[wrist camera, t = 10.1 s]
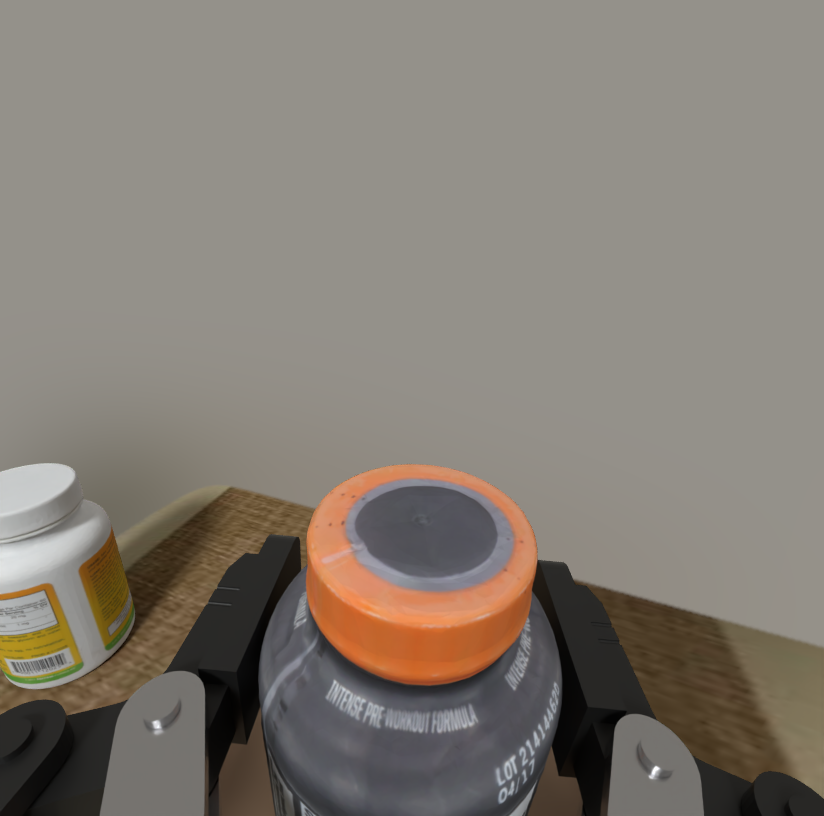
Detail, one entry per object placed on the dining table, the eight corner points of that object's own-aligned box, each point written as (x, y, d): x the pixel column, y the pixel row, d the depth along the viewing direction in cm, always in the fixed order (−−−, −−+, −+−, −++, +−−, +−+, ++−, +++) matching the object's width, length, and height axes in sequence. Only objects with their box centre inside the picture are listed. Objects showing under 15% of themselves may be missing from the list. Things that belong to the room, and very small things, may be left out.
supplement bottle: (110, 581, 25) (68, 442, 21) (156, 630, 22) (117, 482, 18) (-11, 648, 20) (-93, 490, 16) (28, 719, 18) (-59, 551, 14)
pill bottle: (372, 685, 15) (385, 414, 11) (525, 795, 13) (628, 494, 8) (234, 879, 10) (155, 540, 6) (432, 1126, 8) (558, 840, 3)
